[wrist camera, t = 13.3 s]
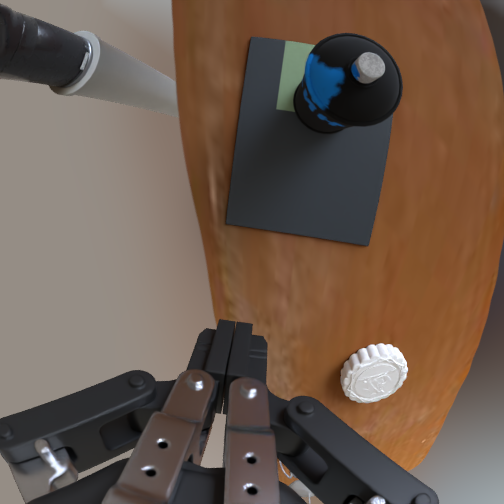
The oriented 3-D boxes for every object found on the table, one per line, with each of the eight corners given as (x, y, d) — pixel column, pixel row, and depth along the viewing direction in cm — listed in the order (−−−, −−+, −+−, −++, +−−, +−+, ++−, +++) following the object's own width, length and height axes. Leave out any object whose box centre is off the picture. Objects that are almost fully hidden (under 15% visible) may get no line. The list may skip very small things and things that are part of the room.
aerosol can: (342, 67, 33) (397, 8, 14) (364, 124, 35) (440, 110, 16) (283, 84, 34) (291, 26, 16) (306, 142, 37) (337, 137, 18)
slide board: (226, 223, 42) (225, 224, 41) (251, 37, 33) (251, 36, 32) (367, 245, 41) (368, 246, 41) (396, 67, 32) (397, 66, 32)
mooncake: (343, 398, 51) (346, 412, 48) (335, 353, 48) (339, 366, 44) (402, 382, 49) (408, 394, 46) (402, 334, 46) (409, 346, 42)
